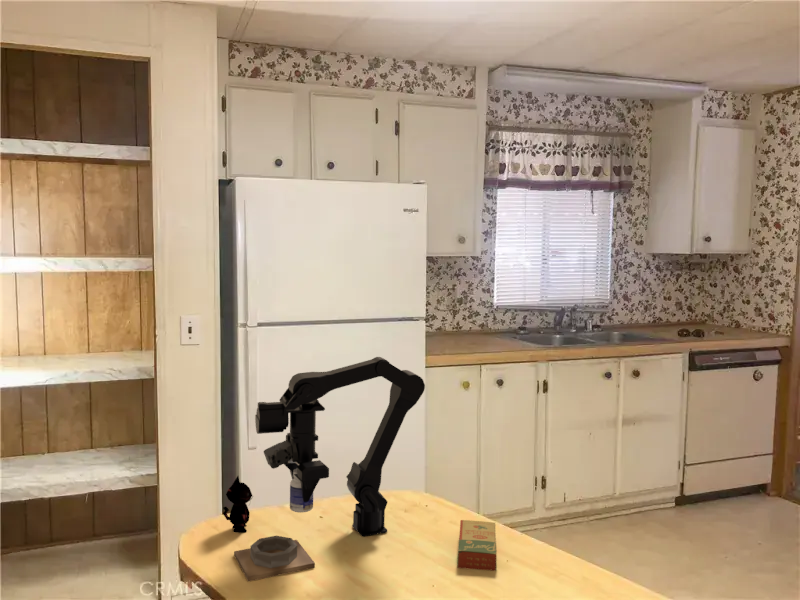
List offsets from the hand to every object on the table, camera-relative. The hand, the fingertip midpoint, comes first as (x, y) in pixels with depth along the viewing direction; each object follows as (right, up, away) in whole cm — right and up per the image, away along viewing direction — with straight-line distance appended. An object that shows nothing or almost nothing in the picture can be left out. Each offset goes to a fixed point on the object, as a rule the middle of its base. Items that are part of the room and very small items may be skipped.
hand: (301, 497), depth 153 cm
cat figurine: (-16, -9, +5) cm, 19 cm away
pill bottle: (0, -3, 0) cm, 3 cm away
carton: (+39, -12, -4) cm, 41 cm away
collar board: (-4, -11, -10) cm, 15 cm away
